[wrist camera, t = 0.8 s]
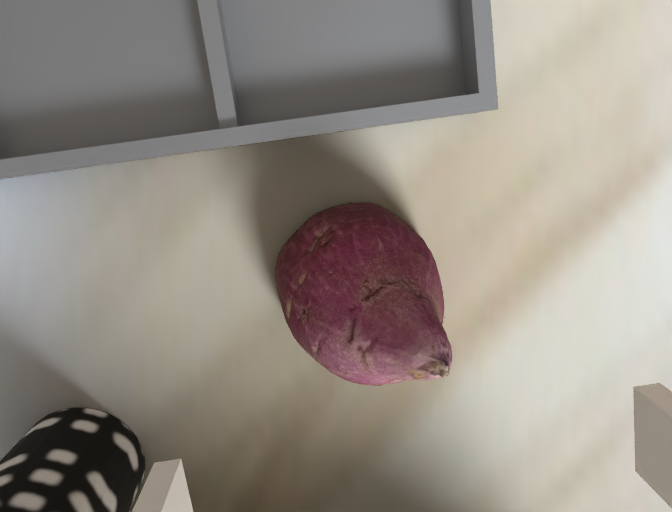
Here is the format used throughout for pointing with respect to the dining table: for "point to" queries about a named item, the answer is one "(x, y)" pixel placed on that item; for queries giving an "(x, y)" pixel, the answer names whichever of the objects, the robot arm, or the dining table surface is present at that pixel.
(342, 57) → the grey compartment tray
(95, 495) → the white-spotted black cylinder
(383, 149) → the dining table surface
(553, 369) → the dining table surface
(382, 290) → the vegetable
